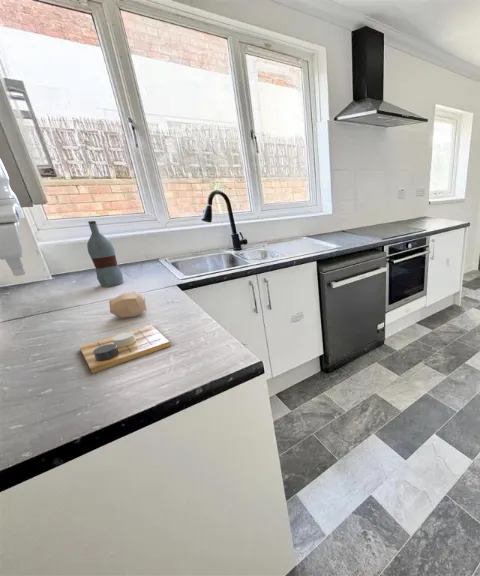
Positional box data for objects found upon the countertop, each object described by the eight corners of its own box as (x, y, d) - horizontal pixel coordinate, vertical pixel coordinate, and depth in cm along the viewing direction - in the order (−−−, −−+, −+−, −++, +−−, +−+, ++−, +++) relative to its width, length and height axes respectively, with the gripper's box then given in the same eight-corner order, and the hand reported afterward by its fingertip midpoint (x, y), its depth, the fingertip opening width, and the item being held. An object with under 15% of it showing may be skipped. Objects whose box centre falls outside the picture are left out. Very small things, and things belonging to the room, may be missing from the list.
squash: (113, 325, 107) (99, 302, 104) (119, 313, 123) (108, 293, 120) (149, 313, 112) (137, 290, 109) (151, 302, 128) (140, 283, 125)
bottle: (111, 280, 153) (91, 219, 143) (129, 280, 153) (110, 219, 143) (94, 287, 145) (71, 222, 134) (113, 287, 144) (91, 222, 134)
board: (80, 350, 91) (78, 345, 91) (152, 328, 104) (151, 324, 104) (92, 373, 80) (90, 368, 80) (170, 345, 93) (169, 341, 93)
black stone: (90, 361, 83) (87, 353, 82) (106, 351, 88) (104, 343, 87) (108, 361, 83) (105, 353, 82) (123, 351, 88) (121, 343, 87)
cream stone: (109, 347, 90) (107, 340, 89) (124, 339, 94) (121, 332, 94) (126, 347, 90) (124, 340, 89) (139, 339, 94) (137, 332, 93)
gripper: (-28, 211, 73) (-2, 266, 78) (-32, 217, 61) (-1, 283, 66) (12, 208, 78) (34, 261, 83) (16, 214, 66) (41, 276, 70)
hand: (18, 271), depth 74 cm, fingers open, 8 cm apart
